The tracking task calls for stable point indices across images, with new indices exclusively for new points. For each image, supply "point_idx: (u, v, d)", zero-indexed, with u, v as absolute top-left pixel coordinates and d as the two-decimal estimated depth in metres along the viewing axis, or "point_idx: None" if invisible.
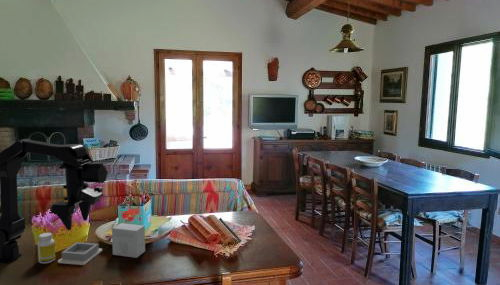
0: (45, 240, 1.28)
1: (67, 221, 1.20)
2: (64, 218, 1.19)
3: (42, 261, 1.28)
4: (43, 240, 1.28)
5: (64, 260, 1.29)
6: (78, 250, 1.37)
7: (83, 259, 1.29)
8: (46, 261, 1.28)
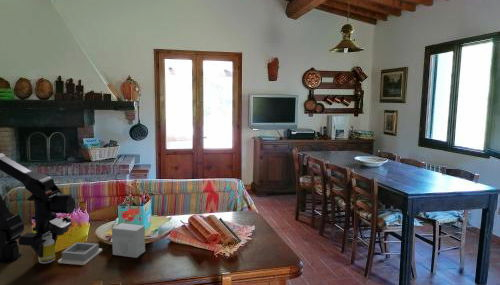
0: None
1: (38, 250, 1.26)
2: (36, 246, 1.26)
3: (42, 261, 1.28)
4: None
5: (64, 260, 1.29)
6: (78, 250, 1.37)
7: (83, 259, 1.29)
8: (46, 261, 1.28)
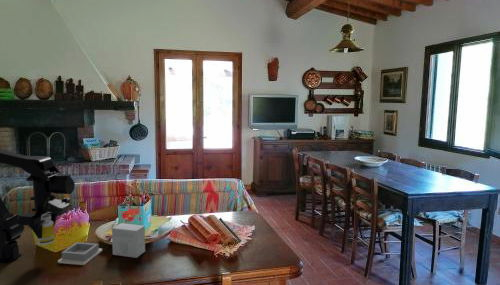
0: None
1: (37, 230, 1.25)
2: (34, 227, 1.25)
3: (41, 242, 1.27)
4: None
5: (64, 260, 1.29)
6: (78, 250, 1.37)
7: (83, 259, 1.29)
8: (45, 242, 1.27)
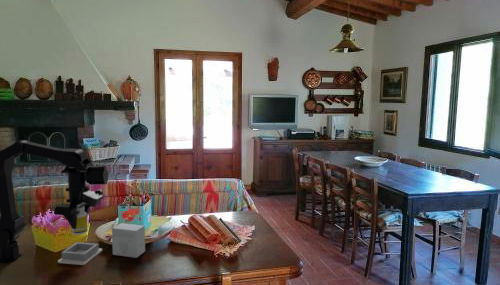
0: None
1: (72, 221, 1.28)
2: (69, 217, 1.28)
3: (76, 232, 1.30)
4: None
5: (64, 260, 1.29)
6: (78, 250, 1.37)
7: (83, 259, 1.29)
8: (79, 232, 1.30)
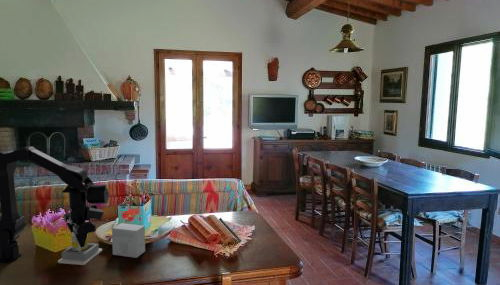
0: None
1: (83, 239, 1.30)
2: (80, 236, 1.29)
3: (83, 250, 1.32)
4: None
5: (64, 260, 1.29)
6: None
7: (83, 259, 1.29)
8: (86, 249, 1.33)
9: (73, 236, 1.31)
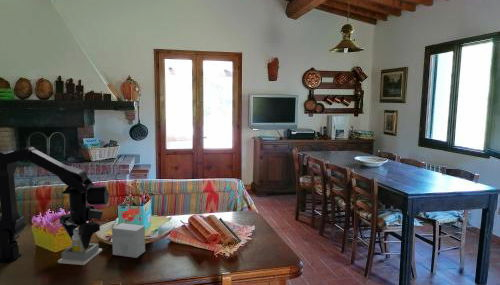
0: None
1: (87, 240, 1.30)
2: (85, 238, 1.29)
3: None
4: None
5: (64, 260, 1.29)
6: None
7: (83, 259, 1.29)
8: None
9: (74, 240, 1.31)
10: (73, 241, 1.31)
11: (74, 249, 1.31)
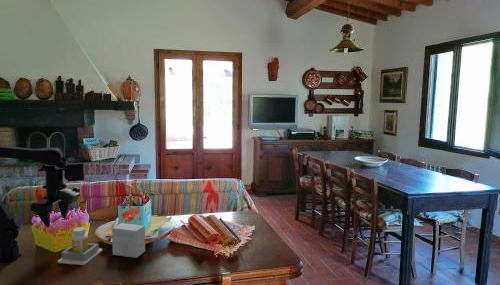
0: (84, 233, 1.33)
1: (45, 219, 1.29)
2: (43, 216, 1.29)
3: None
4: (83, 233, 1.32)
5: (64, 260, 1.29)
6: None
7: (83, 259, 1.29)
8: None
9: (74, 240, 1.31)
10: (73, 241, 1.31)
11: (74, 249, 1.31)
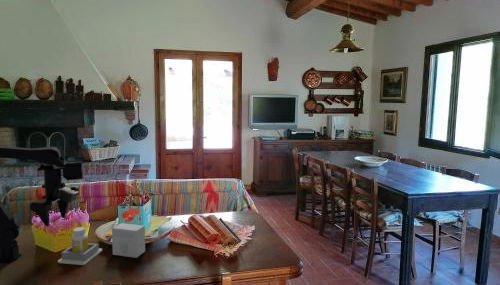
0: (84, 233, 1.33)
1: (45, 218, 1.30)
2: (42, 215, 1.30)
3: None
4: (83, 233, 1.32)
5: (64, 260, 1.29)
6: None
7: (83, 259, 1.29)
8: None
9: (74, 240, 1.31)
10: (73, 241, 1.31)
11: (74, 249, 1.31)
